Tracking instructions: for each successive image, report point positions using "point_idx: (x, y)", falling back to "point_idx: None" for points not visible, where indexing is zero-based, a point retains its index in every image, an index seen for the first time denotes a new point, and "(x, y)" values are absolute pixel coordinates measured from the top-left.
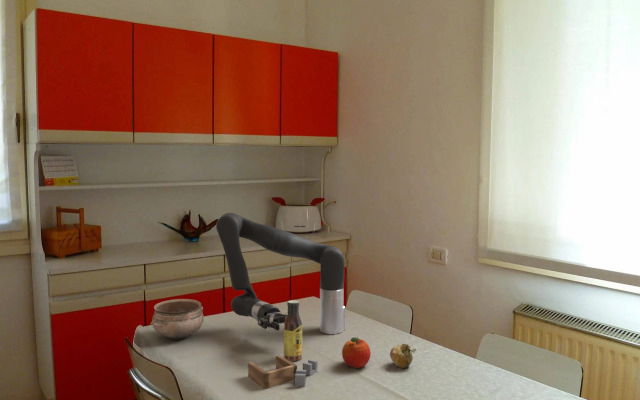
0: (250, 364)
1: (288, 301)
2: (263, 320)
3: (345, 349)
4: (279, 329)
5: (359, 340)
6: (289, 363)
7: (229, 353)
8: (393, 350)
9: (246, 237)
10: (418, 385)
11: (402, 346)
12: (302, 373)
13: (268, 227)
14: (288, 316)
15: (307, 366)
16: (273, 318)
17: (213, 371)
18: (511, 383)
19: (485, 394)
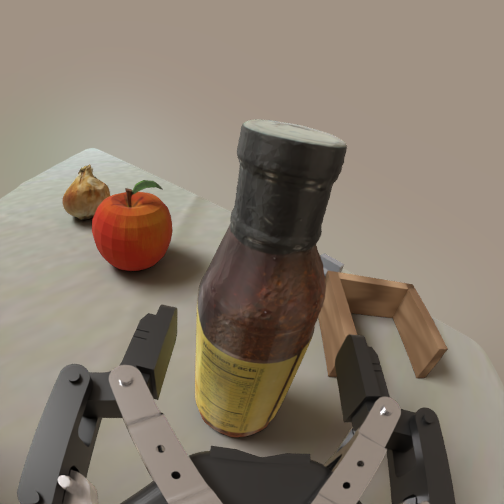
0: (441, 337)
1: (334, 141)
2: (435, 447)
3: (166, 221)
4: (337, 354)
5: (115, 199)
6: (341, 286)
7: None
8: (96, 187)
9: None
10: (151, 190)
11: (90, 172)
12: None
13: None
14: (315, 246)
15: None
16: (348, 447)
17: (494, 443)
18: (87, 159)
19: (129, 163)
